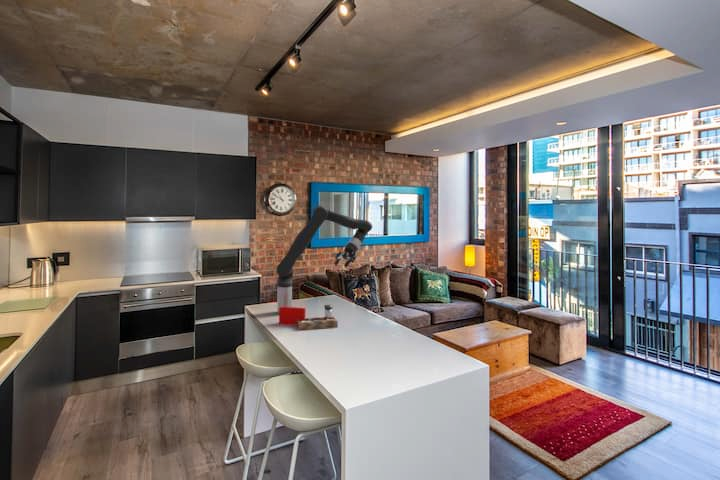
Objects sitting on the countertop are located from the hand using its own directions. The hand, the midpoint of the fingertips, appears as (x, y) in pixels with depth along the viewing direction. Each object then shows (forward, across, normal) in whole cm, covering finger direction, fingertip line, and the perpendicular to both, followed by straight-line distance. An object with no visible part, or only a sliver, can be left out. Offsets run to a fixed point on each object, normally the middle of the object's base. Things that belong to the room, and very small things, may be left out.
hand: (340, 265), depth 231 cm
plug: (+33, +4, +13) cm, 36 cm away
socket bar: (+38, +3, +8) cm, 39 cm away
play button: (+44, -10, +4) cm, 45 cm away
